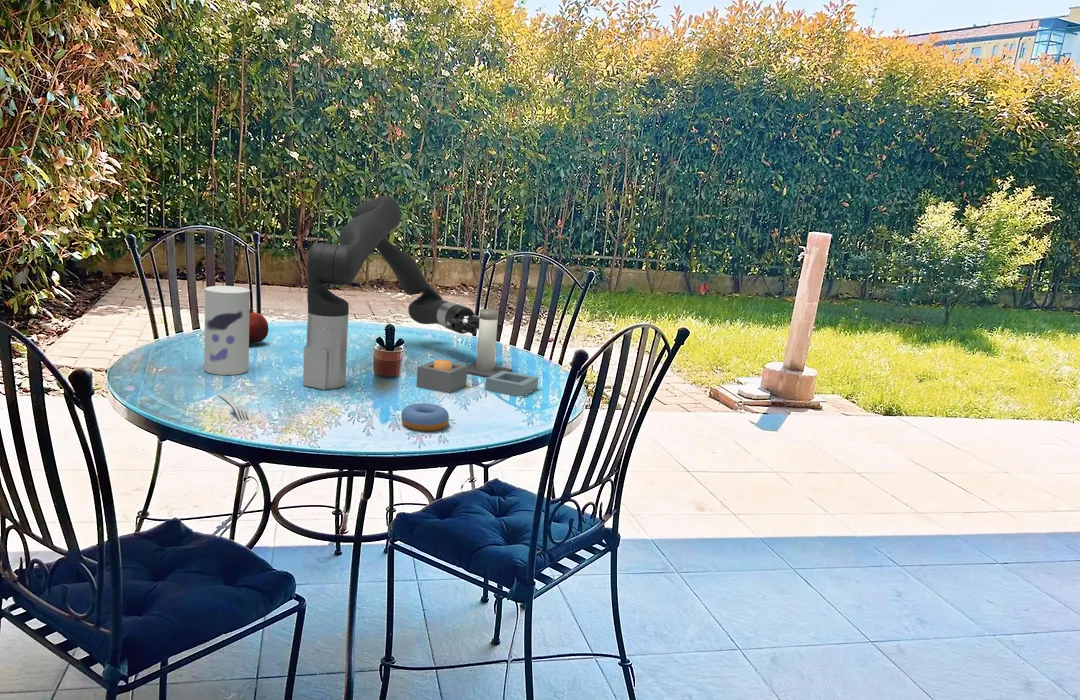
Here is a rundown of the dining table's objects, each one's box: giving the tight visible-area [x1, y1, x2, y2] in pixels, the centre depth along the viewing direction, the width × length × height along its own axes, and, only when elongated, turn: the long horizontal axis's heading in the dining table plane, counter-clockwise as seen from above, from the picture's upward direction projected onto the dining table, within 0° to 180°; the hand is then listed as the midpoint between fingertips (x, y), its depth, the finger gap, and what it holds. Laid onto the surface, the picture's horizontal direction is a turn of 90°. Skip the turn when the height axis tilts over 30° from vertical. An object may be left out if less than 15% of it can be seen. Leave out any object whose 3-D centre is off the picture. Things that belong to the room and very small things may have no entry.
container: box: [203, 285, 251, 376], centre depth 200 cm, size 10×10×20 cm
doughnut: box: [400, 402, 450, 432], centre depth 175 cm, size 10×10×5 cm
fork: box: [218, 393, 251, 422], centre depth 175 cm, size 3×21×3 cm, turn 32°
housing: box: [484, 371, 539, 397], centre depth 209 cm, size 10×10×3 cm
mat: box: [466, 361, 513, 378], centre depth 225 cm, size 11×11×1 cm
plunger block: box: [415, 360, 468, 394], centre depth 206 cm, size 9×9×5 cm
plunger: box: [433, 359, 453, 371], centre depth 206 cm, size 4×4×6 cm
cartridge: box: [475, 308, 499, 372], centre depth 223 cm, size 5×5×16 cm
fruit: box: [249, 308, 269, 345], centre depth 229 cm, size 11×10×10 cm
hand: (488, 329), depth 223 cm, fingers open, 8 cm apart
